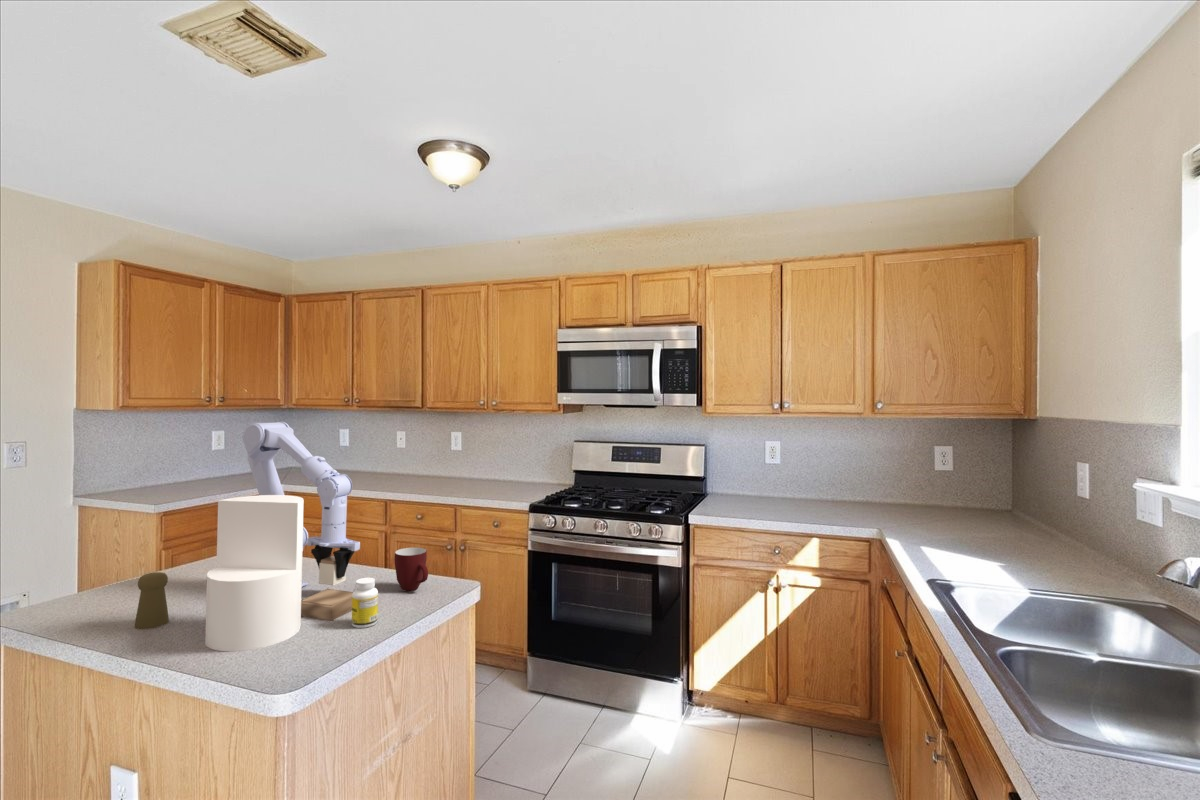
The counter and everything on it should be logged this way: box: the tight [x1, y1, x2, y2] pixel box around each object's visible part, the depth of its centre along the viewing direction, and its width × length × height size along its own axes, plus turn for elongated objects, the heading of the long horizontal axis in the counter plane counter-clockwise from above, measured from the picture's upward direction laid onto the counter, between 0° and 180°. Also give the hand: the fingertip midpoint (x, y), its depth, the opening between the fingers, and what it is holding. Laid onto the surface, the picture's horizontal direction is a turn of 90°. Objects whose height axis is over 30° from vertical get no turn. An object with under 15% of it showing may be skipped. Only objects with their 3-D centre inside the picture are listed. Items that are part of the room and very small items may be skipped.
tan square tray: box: [301, 588, 354, 622], centre depth 134 cm, size 10×10×3 cm
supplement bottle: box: [351, 577, 379, 629], centre depth 127 cm, size 5×5×10 cm
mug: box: [393, 547, 429, 592], centre depth 150 cm, size 10×8×10 cm
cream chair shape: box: [204, 494, 305, 652], centre depth 120 cm, size 17×17×28 cm
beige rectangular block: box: [318, 555, 347, 586], centre depth 145 cm, size 4×4×6 cm
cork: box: [134, 571, 170, 630], centre depth 124 cm, size 6×6×11 cm
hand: (332, 576), depth 145 cm, fingers closed on beige rectangular block, 4 cm apart
